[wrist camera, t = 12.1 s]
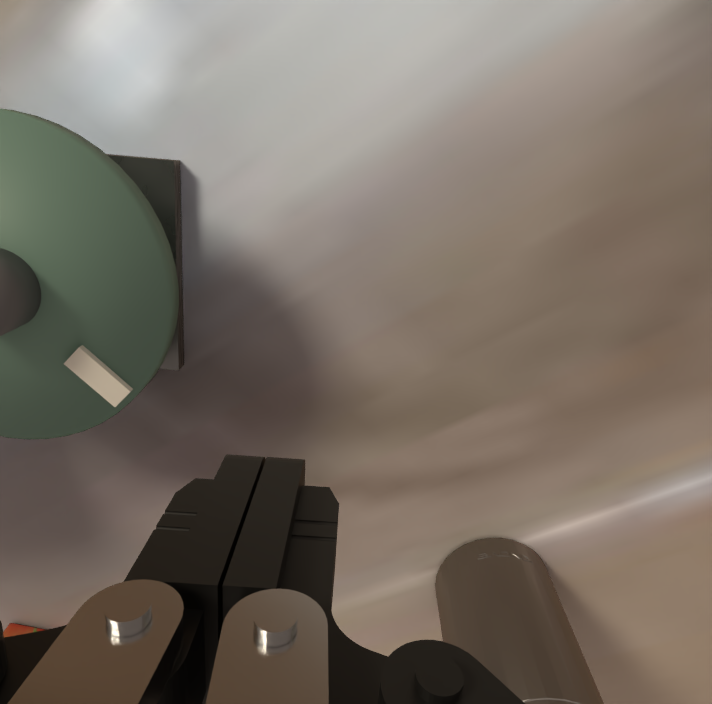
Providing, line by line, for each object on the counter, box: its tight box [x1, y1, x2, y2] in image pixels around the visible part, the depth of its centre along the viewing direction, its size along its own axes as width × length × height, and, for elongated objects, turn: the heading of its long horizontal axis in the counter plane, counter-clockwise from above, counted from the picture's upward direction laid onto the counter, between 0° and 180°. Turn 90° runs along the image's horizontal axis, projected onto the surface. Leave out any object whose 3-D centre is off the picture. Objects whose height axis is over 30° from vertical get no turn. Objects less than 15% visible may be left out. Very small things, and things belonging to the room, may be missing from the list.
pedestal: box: [106, 154, 184, 371], centre depth 35 cm, size 14×14×7 cm
